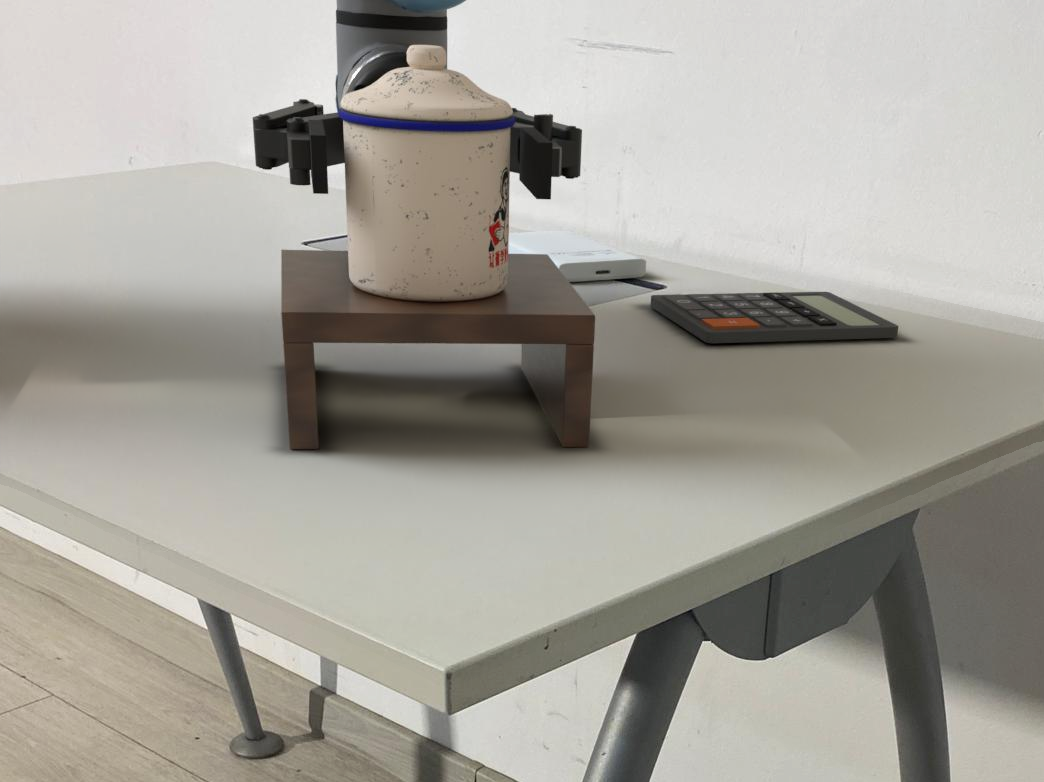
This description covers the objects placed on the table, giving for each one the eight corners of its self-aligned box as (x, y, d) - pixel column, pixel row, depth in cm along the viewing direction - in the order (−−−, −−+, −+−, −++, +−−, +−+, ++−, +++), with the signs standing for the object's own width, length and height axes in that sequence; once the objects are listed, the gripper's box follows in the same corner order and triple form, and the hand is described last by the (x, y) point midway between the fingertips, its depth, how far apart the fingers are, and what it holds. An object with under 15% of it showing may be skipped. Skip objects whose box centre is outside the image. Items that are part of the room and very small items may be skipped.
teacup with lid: (530, 303, 76) (536, 56, 70) (358, 305, 73) (349, 50, 67) (480, 258, 85) (481, 38, 79) (327, 258, 83) (316, 31, 77)
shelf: (289, 449, 75) (281, 312, 71) (288, 368, 88) (281, 249, 85) (589, 447, 78) (595, 315, 74) (544, 369, 91) (547, 254, 88)
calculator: (649, 292, 107) (828, 288, 112) (648, 305, 108) (826, 301, 112) (708, 329, 98) (901, 324, 103) (707, 343, 99) (899, 337, 103)
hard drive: (573, 249, 126) (645, 277, 117) (489, 253, 123) (558, 283, 114) (573, 229, 126) (647, 256, 117) (490, 233, 122) (558, 261, 113)
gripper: (579, 185, 95) (650, 249, 77) (220, 175, 91) (205, 241, 73) (584, 59, 91) (660, 95, 73) (210, 42, 87) (191, 76, 69)
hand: (433, 168), depth 73 cm, fingers open, 11 cm apart
